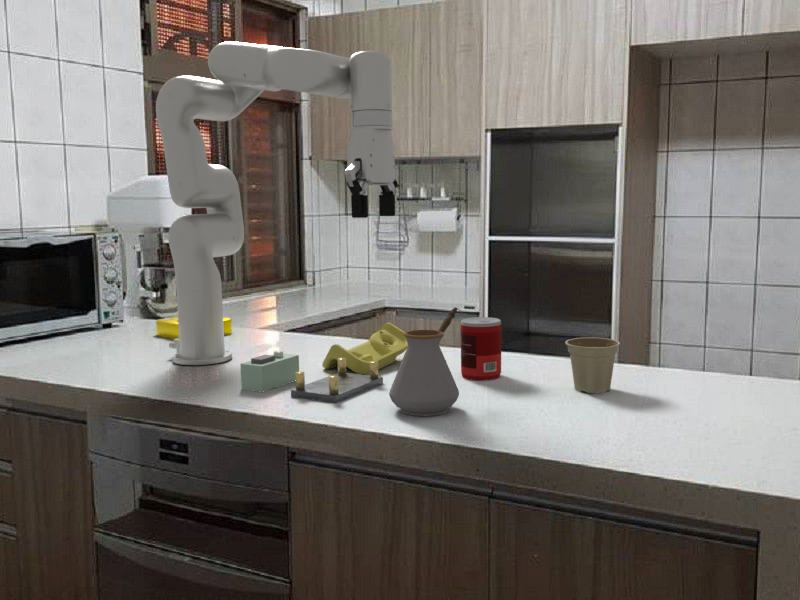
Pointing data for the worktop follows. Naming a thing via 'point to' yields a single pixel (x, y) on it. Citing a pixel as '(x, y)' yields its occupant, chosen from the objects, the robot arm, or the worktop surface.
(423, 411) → the coffee pot
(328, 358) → the plastic component
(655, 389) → the worktop surface
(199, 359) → the robot arm
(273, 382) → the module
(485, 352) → the canned food
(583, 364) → the flower pot
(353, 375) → the chassis
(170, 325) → the element tile
